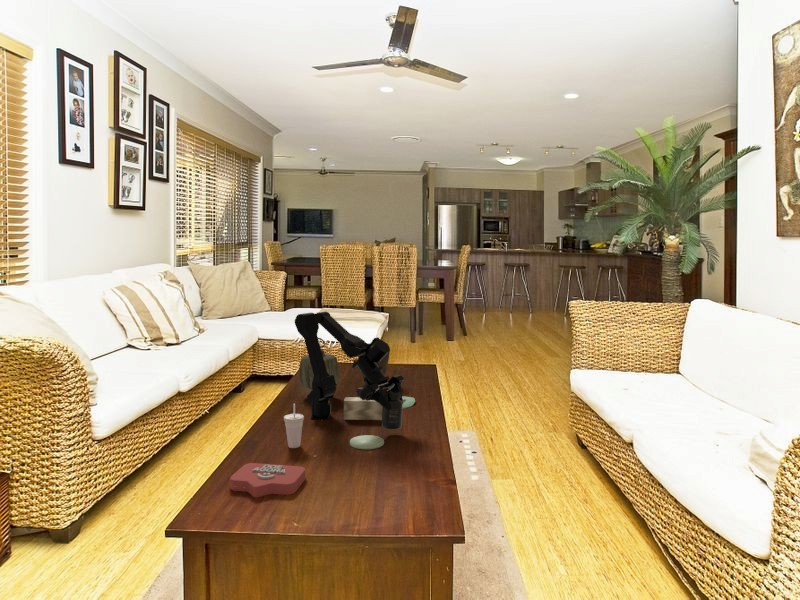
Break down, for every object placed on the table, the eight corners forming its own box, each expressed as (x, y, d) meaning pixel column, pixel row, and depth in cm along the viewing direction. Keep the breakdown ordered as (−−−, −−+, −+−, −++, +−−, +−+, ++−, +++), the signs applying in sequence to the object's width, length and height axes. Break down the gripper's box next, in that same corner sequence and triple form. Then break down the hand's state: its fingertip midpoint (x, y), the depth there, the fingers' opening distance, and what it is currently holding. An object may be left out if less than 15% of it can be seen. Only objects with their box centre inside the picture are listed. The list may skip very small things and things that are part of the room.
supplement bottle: (404, 426, 196) (406, 391, 196) (396, 430, 190) (398, 394, 190) (386, 423, 199) (388, 388, 199) (377, 427, 193) (379, 392, 192)
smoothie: (287, 450, 180) (286, 407, 178) (281, 444, 185) (281, 401, 184) (307, 447, 182) (306, 404, 181) (300, 441, 188) (300, 399, 187)
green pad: (348, 449, 181) (348, 446, 181) (351, 437, 192) (351, 435, 192) (383, 449, 181) (383, 447, 181) (384, 437, 192) (384, 435, 192)
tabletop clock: (338, 396, 241) (338, 338, 239) (324, 401, 234) (324, 341, 231) (312, 391, 249) (311, 334, 247) (297, 396, 242) (297, 337, 239)
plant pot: (353, 386, 258) (353, 351, 256) (361, 379, 273) (361, 345, 271) (386, 388, 256) (386, 353, 254) (392, 380, 270) (392, 346, 269)
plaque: (222, 482, 148) (246, 460, 163) (222, 496, 148) (246, 473, 163) (288, 487, 145) (307, 464, 160) (288, 502, 146) (307, 478, 160)
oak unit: (343, 419, 211) (343, 400, 210) (345, 415, 216) (345, 396, 216) (387, 420, 211) (387, 401, 210) (387, 415, 216) (388, 397, 216)
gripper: (374, 378, 210) (398, 413, 205) (340, 389, 195) (365, 427, 190) (392, 360, 205) (417, 396, 200) (358, 369, 190) (384, 408, 185)
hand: (396, 407), depth 194 cm, fingers closed on supplement bottle, 7 cm apart
